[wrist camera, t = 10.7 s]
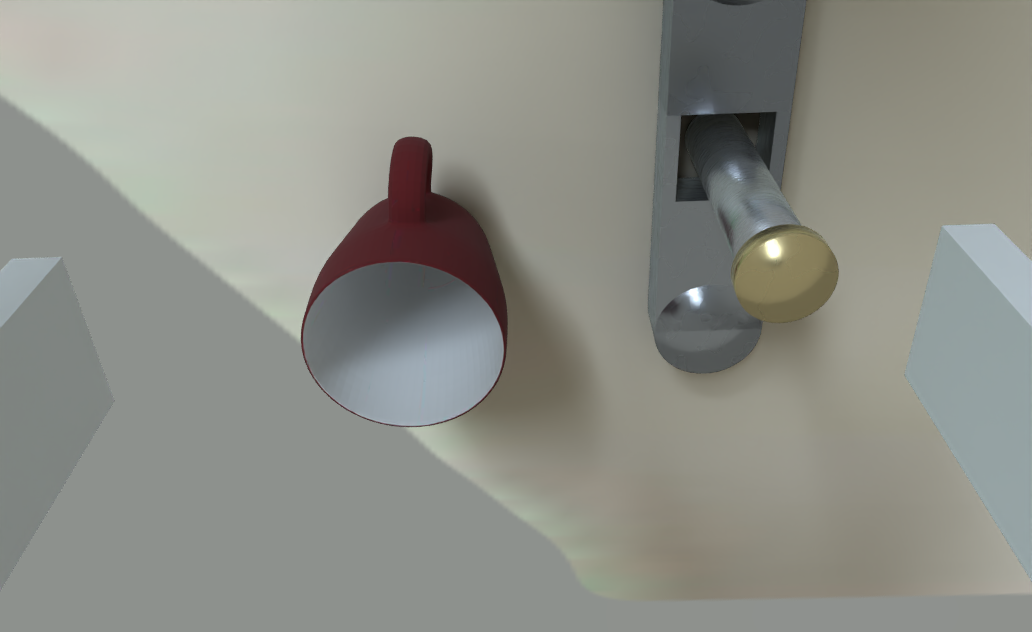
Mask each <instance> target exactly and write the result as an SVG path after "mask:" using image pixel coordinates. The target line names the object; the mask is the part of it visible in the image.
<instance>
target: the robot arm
mask: <svg viewBox="0 0 1032 632" xmlns="http://www.w3.org/2000/svg"><path fill="white" fill-rule="evenodd" d="M904 375H905V377H906V379H907V380H908V382H909V383H910V385H911V387H912V388H913V390H914V391H915V393H916V395H917V396H918V398H919V400H920V401H921V403H922V404H923V406H924V408H925V409H926V411H927V413H928V414H929V416H930V417H931V419H932V421H933V422H934V424H935V426H936V427H937V429H938V430H939V432H940V434H941V435H942V437H943V438H944V440H945V442H946V443H947V445H948V447H949V448H950V450H951V451H952V453H953V455H954V456H955V458H956V460H957V461H958V463H959V464H960V466H961V468H962V469H963V471H964V473H965V474H966V476H967V477H968V479H969V481H970V482H971V484H972V485H973V487H974V489H975V490H976V492H977V494H978V495H979V497H980V498H981V500H982V502H983V503H984V505H985V507H986V508H987V510H988V511H989V513H990V515H991V516H992V518H993V520H994V521H995V523H996V524H997V526H998V528H999V529H1000V531H1001V533H1002V534H1003V536H1004V537H1005V539H1006V541H1007V542H1008V544H1009V545H1010V547H1011V549H1012V550H1013V552H1014V554H1015V555H1016V557H1017V558H1018V560H1019V562H1020V563H1021V565H1022V567H1023V568H1024V570H1025V571H1026V573H1027V575H1028V576H1029V578H1030V580H1031V581H1032V261H1031V260H1030V259H1029V258H1028V257H1027V256H1026V255H1025V254H1024V253H1023V252H1022V251H1021V250H1020V249H1019V248H1018V247H1017V246H1016V245H1015V244H1014V243H1013V242H1012V241H1011V240H1010V239H1009V238H1008V237H1007V236H1006V235H1005V234H1004V233H1003V232H1002V231H1001V230H1000V229H999V228H998V227H997V226H996V225H995V224H973V225H945V226H942V227H941V231H940V235H939V239H938V243H937V247H936V251H935V255H934V259H933V263H932V267H931V271H930V275H929V279H928V283H927V287H926V291H925V295H924V299H923V303H922V307H921V311H920V315H919V319H918V323H917V327H916V331H915V335H914V339H913V343H912V347H911V351H910V355H909V359H908V363H907V367H906V371H905V374H904ZM114 401H115V400H114V398H113V395H112V392H111V389H110V387H109V384H108V381H107V378H106V376H105V373H104V370H103V367H102V365H101V362H100V359H99V356H98V354H97V351H96V348H95V346H94V343H93V340H92V337H91V335H90V332H89V329H88V326H87V324H86V321H85V318H84V315H83V313H82V310H81V307H80V305H79V302H78V299H77V296H76V293H75V291H74V288H73V285H72V283H71V280H70V277H69V275H68V272H67V269H66V266H65V263H64V261H63V258H62V257H49V258H24V259H23V258H21V259H11V260H10V261H9V262H8V263H7V264H6V265H5V266H4V267H3V269H2V270H1V271H0V591H1V589H2V587H3V586H4V584H5V582H6V581H7V579H8V577H9V576H10V574H11V572H12V571H13V569H14V567H15V566H16V564H17V562H18V561H19V559H20V557H21V556H22V554H23V552H24V551H25V549H26V547H27V546H28V544H29V543H30V541H31V539H32V537H33V536H34V534H35V532H36V531H37V529H38V528H39V526H40V524H41V523H42V521H43V519H44V518H45V516H46V514H47V513H48V511H49V509H50V508H51V506H52V504H53V503H54V501H55V499H56V498H57V496H58V494H59V493H60V491H61V489H62V488H63V486H64V484H65V483H66V481H67V479H68V478H69V476H70V474H71V473H72V471H73V469H74V468H75V466H76V464H77V463H78V461H79V459H80V458H81V456H82V454H83V452H84V451H85V449H86V448H87V446H88V444H89V443H90V441H91V439H92V438H93V436H94V434H95V433H96V431H97V429H98V428H99V426H100V424H101V423H102V421H103V419H104V418H105V416H106V415H107V413H108V411H109V409H110V408H111V406H112V405H113V403H114Z"/></svg>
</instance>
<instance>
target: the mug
mask: <svg viewBox="0 0 1032 632" xmlns="http://www.w3.org/2000/svg"><path fill="white" fill-rule="evenodd" d="M431 175H432V148H431V145H430V143H429V142H428V141H427V140H425V139H422V138H419V137H405V138H402V139H399V140H398V141H397V142H396V143H395V145H394V148H393V152H392V157H391V164H390V173H389V186H388V198H387V199H385V200H383V201H381V202H379V203H378V204H376V205H375V206H373V207H372V208H371V209H370V210H368V211H367V212H366V213H365V214H364V215H363V216H362V217H361V218H360V219H359V220H358V222H357V223H356V224H355V226H354V227H353V228H352V229H351V231H350V232H349V233H348V234H347V236H346V237H345V238H344V239H343V241H342V242H341V243H340V244H339V246H338V247H337V248H336V249H335V251H334V252H333V253H332V255H331V256H330V257H329V259H328V260H327V262H326V263H325V265H324V267H323V268H322V270H321V272H320V274H319V276H318V278H317V280H316V282H315V285H314V287H313V290H312V293H311V296H310V299H309V302H308V305H307V308H306V312H305V315H304V319H303V323H302V329H301V346H302V352H303V356H304V359H305V363H306V365H307V367H308V370H309V371H310V373H311V375H312V377H313V378H314V379H315V381H316V383H317V384H318V386H319V387H320V388H321V389H322V390H323V391H324V392H325V393H326V394H327V395H328V396H329V397H330V398H331V399H332V400H333V401H335V402H336V403H337V404H339V405H340V406H342V407H343V408H345V409H346V410H348V411H350V412H351V413H353V414H356V415H358V416H360V417H362V418H365V419H367V420H370V421H373V422H377V423H380V424H385V425H391V426H399V427H422V426H430V425H435V424H439V423H443V422H446V421H449V420H452V419H455V418H457V417H459V416H461V415H463V414H465V413H467V412H468V411H470V410H471V409H473V408H474V407H476V406H477V405H478V404H479V403H481V402H482V401H483V400H484V399H485V398H486V397H487V396H488V395H489V393H490V392H491V391H492V389H493V388H494V387H495V385H496V383H497V382H498V380H499V378H500V375H501V373H502V370H503V367H504V363H505V358H506V347H507V306H506V299H505V294H504V291H503V287H502V283H501V280H500V277H499V274H498V271H497V268H496V264H495V261H494V258H493V255H492V252H491V249H490V246H489V243H488V241H487V238H486V236H485V234H484V232H483V230H482V228H481V227H480V225H479V224H478V222H477V221H476V220H475V219H474V217H473V216H472V215H471V214H470V213H469V212H467V211H466V210H465V209H464V208H463V207H461V206H460V205H459V204H457V203H455V202H454V201H452V200H450V199H448V198H446V197H443V196H441V195H438V194H435V193H432V192H431Z"/></svg>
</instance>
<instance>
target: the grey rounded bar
mask: <svg viewBox="0 0 1032 632" xmlns="http://www.w3.org/2000/svg"><path fill="white" fill-rule="evenodd" d="M805 7H806V0H663V19H662V39H661V58H660V78H659V98H658V117H657V137H656V157H655V176H654V196H653V216H652V235H651V255H650V275H649V294H648V313H649V318H650V322H651V326H652V330H653V334H654V339H655V343H656V346H657V349H658V351H659V352H660V354H661V355H662V357H663V358H664V359H665V360H666V361H667V362H668V363H670V364H671V365H673V366H674V367H676V368H678V369H681V370H683V371H687V372H691V373H712V372H718V371H721V370H724V369H727V368H729V367H731V366H733V365H735V364H737V363H738V362H740V361H741V360H743V359H744V358H745V357H746V356H747V355H748V354H749V353H750V352H751V351H752V349H753V348H754V347H755V345H756V343H757V342H758V339H759V337H760V334H761V329H762V322H763V321H762V320H759V319H757V318H755V317H753V316H751V315H750V314H749V313H748V312H746V311H745V309H744V308H743V307H742V306H741V304H740V302H739V300H738V298H737V296H736V293H735V291H734V288H733V285H732V282H731V267H732V263H733V260H734V258H733V256H732V253H731V251H730V249H729V246H728V244H727V242H726V239H725V237H724V235H723V232H722V230H721V228H720V225H719V223H718V220H717V218H716V216H715V213H714V211H713V209H712V206H711V204H710V202H709V199H708V197H707V195H706V192H705V190H704V188H703V185H702V183H701V181H700V178H699V177H692V178H677V171H678V156H679V141H680V126H681V115H703V114H729V113H755V112H760V119H759V128H758V137H757V145H756V150H757V152H758V153H759V155H760V157H761V158H762V160H763V162H764V163H765V165H766V167H767V168H768V170H769V172H770V173H771V175H772V177H773V178H774V180H775V182H776V184H777V185H778V187H779V189H780V190H781V183H782V175H783V168H784V161H785V153H786V146H787V139H788V132H789V124H790V117H791V110H792V102H793V95H794V88H795V80H796V73H797V66H798V58H799V51H800V44H801V36H802V29H803V22H804V14H805Z"/></svg>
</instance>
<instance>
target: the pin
mask: <svg viewBox="0 0 1032 632" xmlns="http://www.w3.org/2000/svg"><path fill="white" fill-rule="evenodd" d="M685 145H686V148H687V150H688V153H689V155H690V157H691V160H692V162H693V164H694V167H695V169H696V171H697V174H698V176H699V178H700V181H701V183H702V185H703V188H704V190H705V192H706V195H707V197H708V199H709V202H710V204H711V206H712V209H713V211H714V213H715V216H716V218H717V220H718V223H719V225H720V228H721V230H722V232H723V235H724V237H725V239H726V242H727V244H728V246H729V249H730V251H731V253H732V256H733V258H734V260H733V263H732V267H731V282H732V285H733V288H734V291H735V293H736V296H737V298H738V300H739V302H740V304H741V306H742V307H743V308H744V309H745V311H746V312H748V313H749V314H750V315H751V316H753V317H755V318H757V319H759V320H762V321H766V322H771V323H786V322H792V321H796V320H799V319H802V318H804V317H806V316H808V315H810V314H812V313H813V312H815V311H816V310H818V309H819V308H820V307H821V306H823V305H824V303H825V302H826V301H827V300H828V299H829V298H830V296H831V295H832V293H833V291H834V289H835V287H836V284H837V281H838V274H839V271H838V264H837V260H836V258H835V256H834V254H833V253H832V251H831V249H830V248H829V246H828V245H827V243H826V241H825V240H824V239H823V238H822V236H820V235H819V234H818V233H817V232H815V231H814V230H812V229H810V228H807V227H804V226H802V225H801V224H800V222H799V220H798V219H797V217H796V215H795V214H794V212H793V210H792V209H791V207H790V205H789V204H788V202H787V200H786V199H785V197H784V195H783V194H782V192H781V190H780V189H779V187H778V185H777V184H776V182H775V180H774V178H773V177H772V175H771V173H770V172H769V170H768V168H767V167H766V165H765V163H764V162H763V160H762V158H761V157H760V155H759V153H758V152H757V150H756V148H755V147H754V145H753V143H752V142H751V140H750V138H749V137H748V135H747V133H746V132H745V130H744V128H743V127H742V125H741V123H740V121H739V120H738V118H737V117H736V116H735V115H734V114H732V113H729V114H703V115H698V116H697V117H696V118H694V119H693V121H692V122H691V123H690V125H689V126H688V128H687V131H686V134H685Z"/></svg>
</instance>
